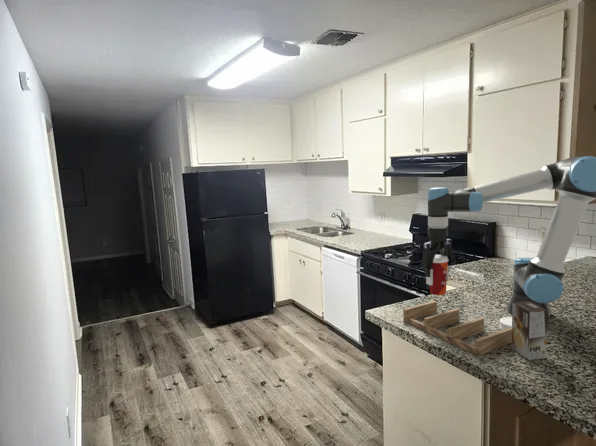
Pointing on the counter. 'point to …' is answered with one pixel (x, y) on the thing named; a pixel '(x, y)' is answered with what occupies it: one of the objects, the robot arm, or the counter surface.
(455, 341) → the oak rack
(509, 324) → the white round dish
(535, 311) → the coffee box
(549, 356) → the counter surface
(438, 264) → the coffee cup
